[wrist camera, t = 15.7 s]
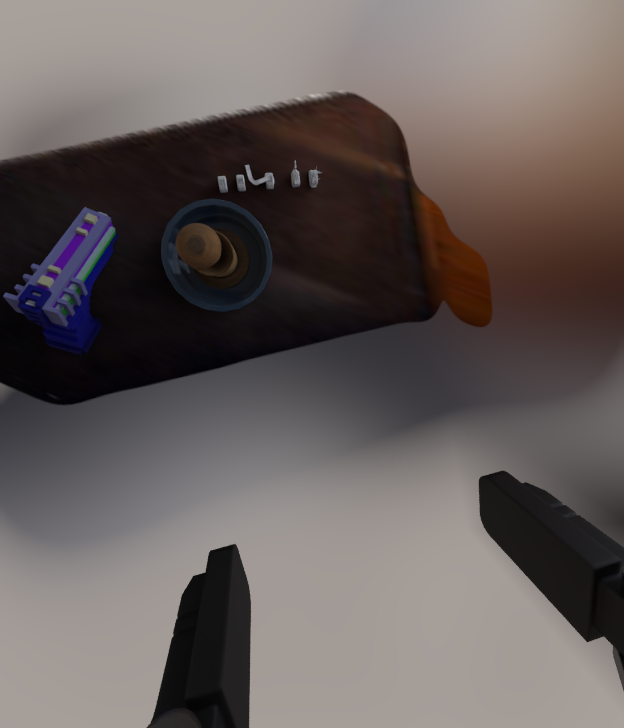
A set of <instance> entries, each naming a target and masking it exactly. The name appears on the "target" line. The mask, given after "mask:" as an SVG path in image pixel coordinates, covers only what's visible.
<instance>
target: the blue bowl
mask: <svg viewBox="0 0 624 728" xmlns="http://www.w3.org/2000/svg"><path fill="white" fill-rule="evenodd" d="M192 223H201V224H204V225H207V226H208V227H210V228H211V229H212V228H223V229H227V230H229V231H231V232H233V233H235V234H236V235H237V236H239V237H240V238H241V240H242V241H243V242H244V244H245V245H246V247H247V250H248V253H249V259H250V264H249V269H248V272H247V275H246V276H245V278H244V279H243V281H242V282H241V283H239V284H238V285H237V286H235V287H232V288H228V289H217V288H214V287H211V286H209V285H207V284H205V283H204V282H203V281H202V280H201V279H200V278H199V277H198V276H197V275H196V273H195V271H194V269H193V267H191V266H189V265H188V264H186V263H185V262H184V261H183V260H182V259H181V258H180V256H179V254H178V252H177V249H176V238H177V235H178V233H179V232H180V230H181V229H182V228H183V227H185V226H186V225H188V224H192ZM161 259H162V263H163V266H164V269H165V273H166V276H167V278H168V279H169V281H170V282H171V284H172V285H173V287H174V288H175V290H176V291H177V292H178V293H179V294H180V295H182V296H183V297H184V298H185V299H186V300H187V301H189V302H190V303H192V304H194V305H196V306H198V307H201V308H203V309H205V310H211V311H220V312H225V311H231V310H236V309H240V308H242V307H243V306H245V305H247V304H249V303H251V302H252V301H254V300H255V299H256V297H257V296H258V295H259V294H260V293H261V292H262V291H263V290H264V288H265V286H266V284H267V281H268V279H269V277H270V274H271V266H272V252H271V247H270V242H269V239H268V237H267V235H266V233H265V231H264V230H263V228H262V226H261V224H260V223H259V222H258V221H257V220H256V219H255V218H254V217H253V216H252V215H251V214H250V213H249V212H248V211H247V210H245V209H244V208H242V207H240V206H238V205H236V204H234V203H232V202H230V201H224V200H219V199H206V200H200V201H195V202H193V203H191V204H189V205H187V206H185V207H184V208H182V209H180V210H179V211H178V212H177V213H176V214H175V216H174V217H173V218H172V219H171V220H170V221H169V223H168V225H167V227H166V230H165V233H164V235H163V238H162V246H161Z"/></svg>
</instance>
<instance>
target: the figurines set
mask: <svg viewBox="0 0 624 728" xmlns="http://www.w3.org/2000/svg"><path fill="white" fill-rule="evenodd" d="M245 167H246V171H247V174H248V178H249V181H251V182H252V183H253V184H254V185H259V184H260V183H263V182H266V189H274V178H273V174H272V173H265V177H264V178H261V179H259V180H256V181H255V180H254V179H253V178H252V175H251V171H250V167H249V165H245ZM295 168H296V161H295ZM316 168H317V167H316ZM293 169H294V168H293ZM317 173H322V172H318V171H317V170H310V171H309V184H310V186H311V187H313V188H314V187H316V186H317V184H318V179H319V178H318V176H317ZM320 178H321V177H320ZM251 179H252V180H251ZM236 180H237V186H238V191H246V188H245V182H244V176H243V175H236ZM291 180H292V187H299V186H300V177H299V171H297V170H296V169H295V170H293V171H292V173H291ZM218 183H219V189H220V192H221V193H224V192H228V188H227V182H226V178H225V176H218Z"/></svg>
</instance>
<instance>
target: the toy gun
mask: <svg viewBox="0 0 624 728" xmlns="http://www.w3.org/2000/svg"><path fill="white" fill-rule="evenodd" d="M117 238H118V236H117V232H115V228H114V227H113V225H112V221H111V217H108V215H106V214H104V213H101V212H95V211H93V210H90V209H88V208H85V207H84V209H83V210H82V211H81V213H80V214H79V215H78V217H77V218H76V219H75V220H74V222H73V223H72V224H71V226H70V227H69V228H68V230H67V231H66V232H65V234H64V235H63V236H62V238H61V239H60V240H59V242H58V243H57V244H56V245H55V247H54V248H53V249H52V251H51V252H50V253H49V255H48V256H47V257H46V259H45V260H44V261H43V263H42V264H41V265H40V266H39V265H36V264H32V265H31V269H32V270H33V272H34V274H33V276H31V275H28V274H24V276H23V279H24V280H25V282H26V283H27V284H26V285H25V286H21V285H18V284H17V285H16V286H15V287H14V289H15V290H16V291H17V292H18V295H17V296H15V295H12V294H9V293H5V294H4V296H3V297H4V298H5V299H6V300H7V302H8V303H9V304H10V305H11V306H12V307H13V309H14V310H15V311H16V312H19V313H23V314H24V315H25V316H26V317H27V318H28V320H31V321H34V322H35V323H36V324H39V325H42V327H43V328H44V330H43V332H42V333H43V334H44V335H45V336H44V339H45V340H46V344H47V345H48V346H51V347H55V348H58V349H61V350H65V351H68V352H72V353H75V354H79V355H82V353H83V352H84V353H87V352H88V351H89V349H90V347H91V345H92V344H93V342H94V340H95V339H96V337H97V335H98V333H99V332H100V330H101V328H102V324H101V323H100V320H99V319H98V318H95V317H92V316H91V314H90V312H89V310H90V309H91V307H90V305H89V303H90V302H91V300H90V298H89V297H90V296H91V290H92V287H93V283H94V282H95V280H96V279H97V277H98V275H99V274H100V272H101V271H102V269H103V268H104V266H105V264H106V263H107V261H108V260H109V258H110V257H111V255H112V253H113V244H114V243H115V241H116V240H117Z"/></svg>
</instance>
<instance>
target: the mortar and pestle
mask: <svg viewBox="0 0 624 728" xmlns="http://www.w3.org/2000/svg"><path fill="white" fill-rule="evenodd" d="M176 249H177V252H178V254H179V256H180V258H181V259H182V260H183V261H184V262H185V263H186V264H188V265H189V266H191V267H193V269H194V271H195V273H196V275H197V276H198V277H199V278H200V279H201V280H202V281H203V282H204V283H205V284H207V285H209V286H211V287H214V288H217V289H228V288H232V287H235V286H237V285H238V284H239V283H241V282H242V281H243V279H244V278H245V276H246V275H247V272H248V269H249V264H250V259H249V253H248V250H247V247H246V245H245V244H244V242H243V241H242V240H241V238H240V237H239V236H237V235H236V234H235V233H233V232H231V231H229V230H227V229H223V228H212V229H211V228H210V227H208V226H207V225H204V224H201V223H192V224H188V225H186V226H185V227H183V228H182V229H181V230H180V232H179V233H178V235H177V238H176Z"/></svg>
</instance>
